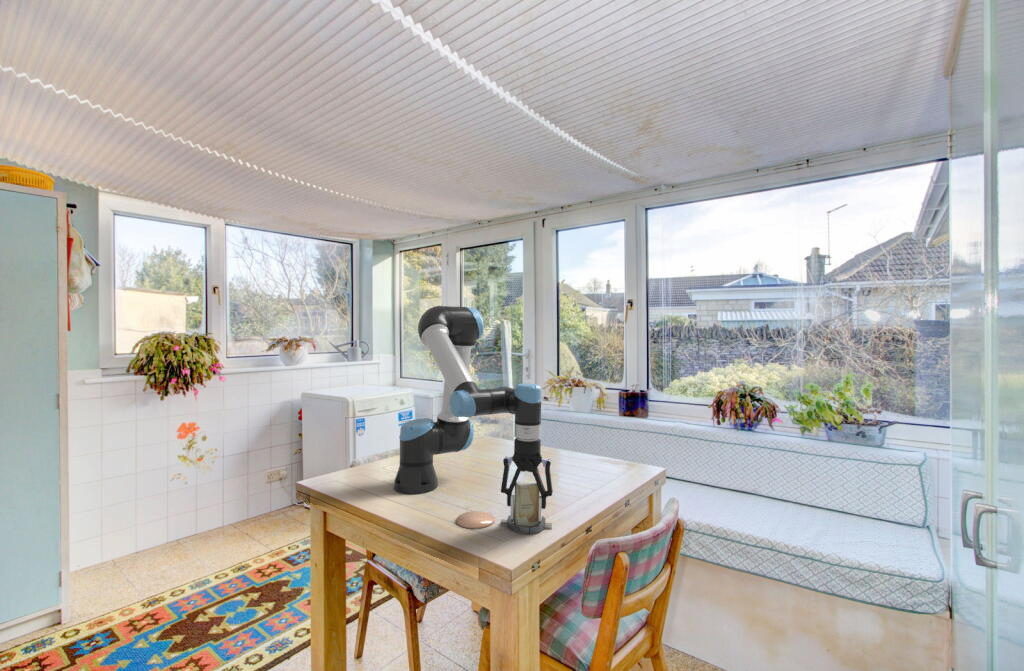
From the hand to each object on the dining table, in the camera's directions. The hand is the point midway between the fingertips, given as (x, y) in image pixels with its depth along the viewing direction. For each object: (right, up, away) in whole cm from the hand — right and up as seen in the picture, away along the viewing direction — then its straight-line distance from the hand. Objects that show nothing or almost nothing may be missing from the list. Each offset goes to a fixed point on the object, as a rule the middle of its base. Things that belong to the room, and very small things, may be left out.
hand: (526, 518), depth 129 cm
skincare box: (0, -2, 0) cm, 2 cm away
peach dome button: (-15, -2, +3) cm, 15 cm away
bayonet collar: (0, -2, 0) cm, 2 cm away
